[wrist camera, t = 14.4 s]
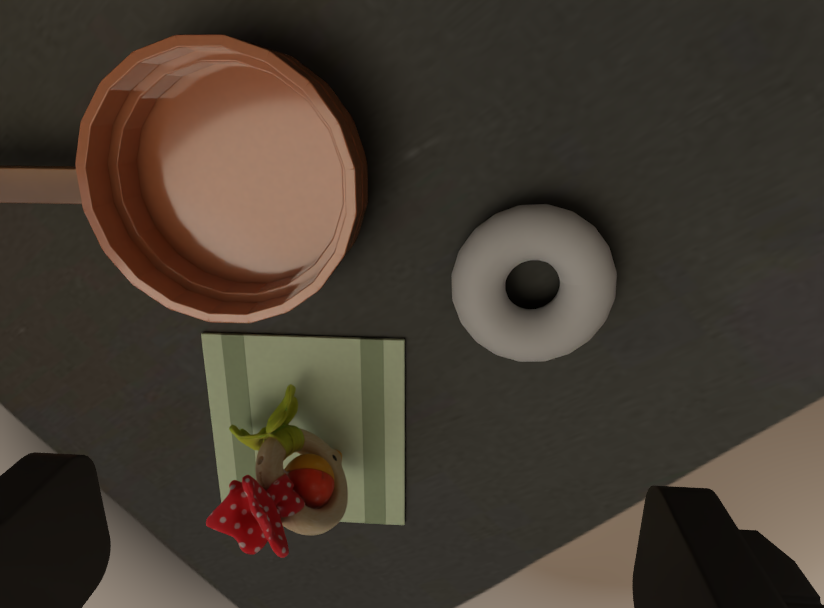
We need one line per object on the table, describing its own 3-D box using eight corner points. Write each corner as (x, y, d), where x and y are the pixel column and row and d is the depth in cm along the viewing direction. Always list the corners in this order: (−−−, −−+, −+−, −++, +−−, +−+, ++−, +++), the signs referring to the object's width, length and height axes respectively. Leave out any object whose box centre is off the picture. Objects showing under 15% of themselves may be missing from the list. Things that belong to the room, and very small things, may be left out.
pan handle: (-84, 164, 35) (-102, 166, 34) (94, 166, 34) (82, 168, 33) (-75, 198, 36) (-92, 201, 35) (100, 201, 35) (88, 204, 34)
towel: (202, 332, 41) (200, 333, 41) (404, 338, 40) (404, 340, 40) (224, 512, 46) (222, 515, 46) (404, 522, 45) (404, 525, 45)
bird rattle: (365, 411, 44) (264, 359, 39) (395, 544, 35) (269, 498, 30) (312, 461, 46) (209, 417, 41) (327, 600, 37) (198, 565, 32)
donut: (423, 247, 38) (495, 374, 40) (419, 260, 35) (498, 397, 37) (567, 169, 36) (635, 308, 38) (578, 175, 32) (651, 326, 35)
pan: (106, 43, 35) (51, 35, 31) (366, 42, 34) (351, 33, 29) (143, 293, 40) (102, 318, 36) (371, 299, 39) (359, 327, 35)
